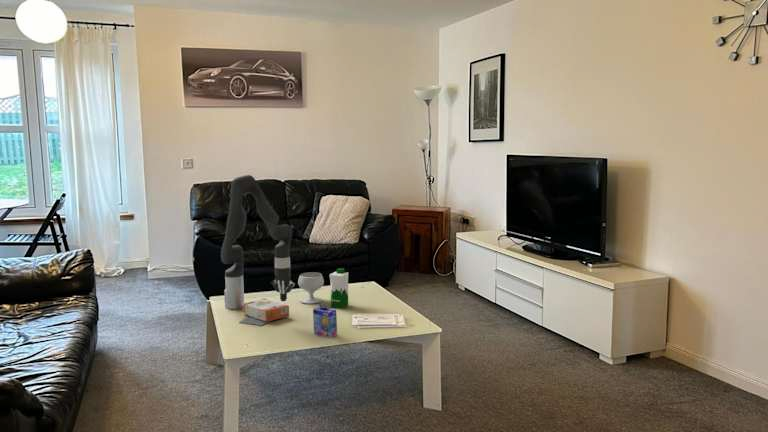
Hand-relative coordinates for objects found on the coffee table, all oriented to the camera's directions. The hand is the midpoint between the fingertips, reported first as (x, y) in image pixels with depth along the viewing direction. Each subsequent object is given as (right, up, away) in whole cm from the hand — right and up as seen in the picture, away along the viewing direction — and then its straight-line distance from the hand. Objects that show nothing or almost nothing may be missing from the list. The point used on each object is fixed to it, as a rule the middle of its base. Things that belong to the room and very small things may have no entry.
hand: (283, 300), depth 278 cm
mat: (-12, -10, +7) cm, 17 cm away
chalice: (+9, -6, +38) cm, 39 cm away
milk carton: (+25, -7, +27) cm, 38 cm away
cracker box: (-3, -7, +3) cm, 8 cm away
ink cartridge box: (+22, -13, -17) cm, 31 cm away
